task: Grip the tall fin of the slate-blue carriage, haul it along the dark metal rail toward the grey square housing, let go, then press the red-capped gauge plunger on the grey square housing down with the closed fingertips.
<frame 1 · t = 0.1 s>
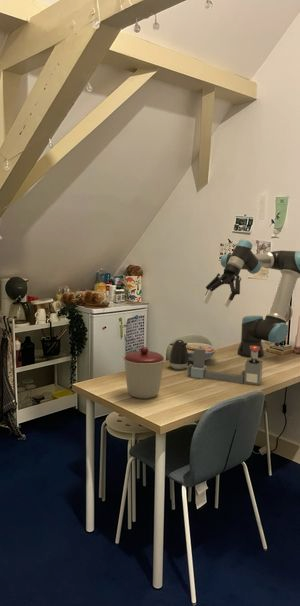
hand: (215, 303, 217), 36 cm above the table, tool tilted 35°, fingers open, 13 cm apart
carriage: (199, 362, 219), point 7 cm above the table, slide at 0.0 cm
ramen bowl: (195, 360, 249), on the table
rail: (215, 378, 217), on the table
plunger: (254, 354, 211), point 14 cm above the table, slide at 0.0 cm
canister: (143, 395, 194), on the table
grey square housing: (252, 382, 214), on the table
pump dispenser: (178, 368, 234), on the table
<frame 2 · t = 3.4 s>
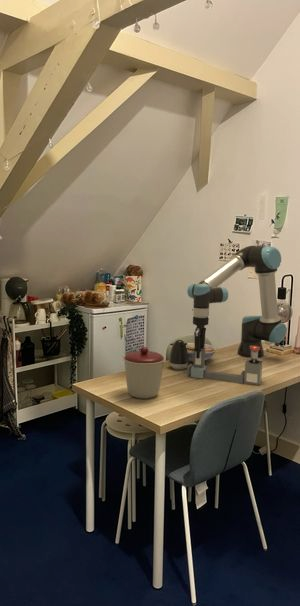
hand: (198, 363, 220), 7 cm above the table, tool pointing down, fingers closed on carriage, 2 cm apart
carriage: (199, 362, 219), point 7 cm above the table, slide at 0.0 cm, touching gripper
everything else where it was.
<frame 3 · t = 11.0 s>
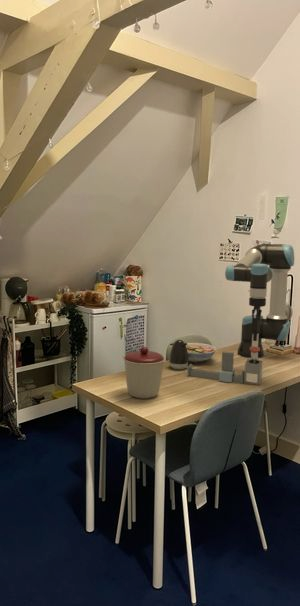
hand: (254, 347, 211), 17 cm above the table, tool pointing down, fingers closed
carriage: (227, 366, 214), point 7 cm above the table, slide at 14.0 cm
plunger: (254, 355, 212), point 13 cm above the table, slide at 0.5 cm, touching gripper
everything else where it was.
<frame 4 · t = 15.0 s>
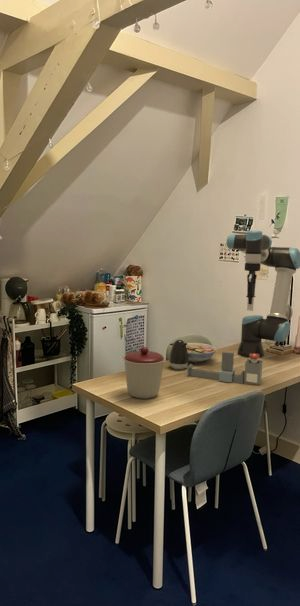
hand: (250, 310, 222), 32 cm above the table, tool pointing down, fingers closed
plunger: (254, 361, 212), point 10 cm above the table, slide at 3.7 cm
everything else where it was.
at the end: carriage slide at 14.0 cm; plunger slide at 3.7 cm; the gripper is holding nothing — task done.
